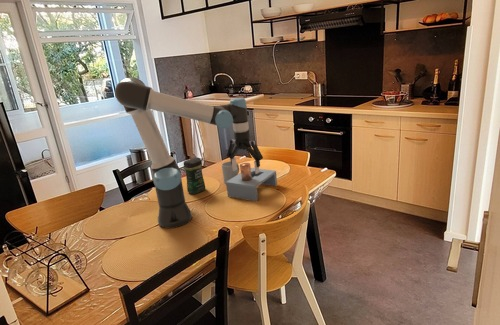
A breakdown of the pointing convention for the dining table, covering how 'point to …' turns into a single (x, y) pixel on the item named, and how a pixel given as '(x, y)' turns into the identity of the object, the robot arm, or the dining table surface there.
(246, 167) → the peg
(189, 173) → the coffee jar
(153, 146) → the robot arm
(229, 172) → the mug
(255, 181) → the platform
